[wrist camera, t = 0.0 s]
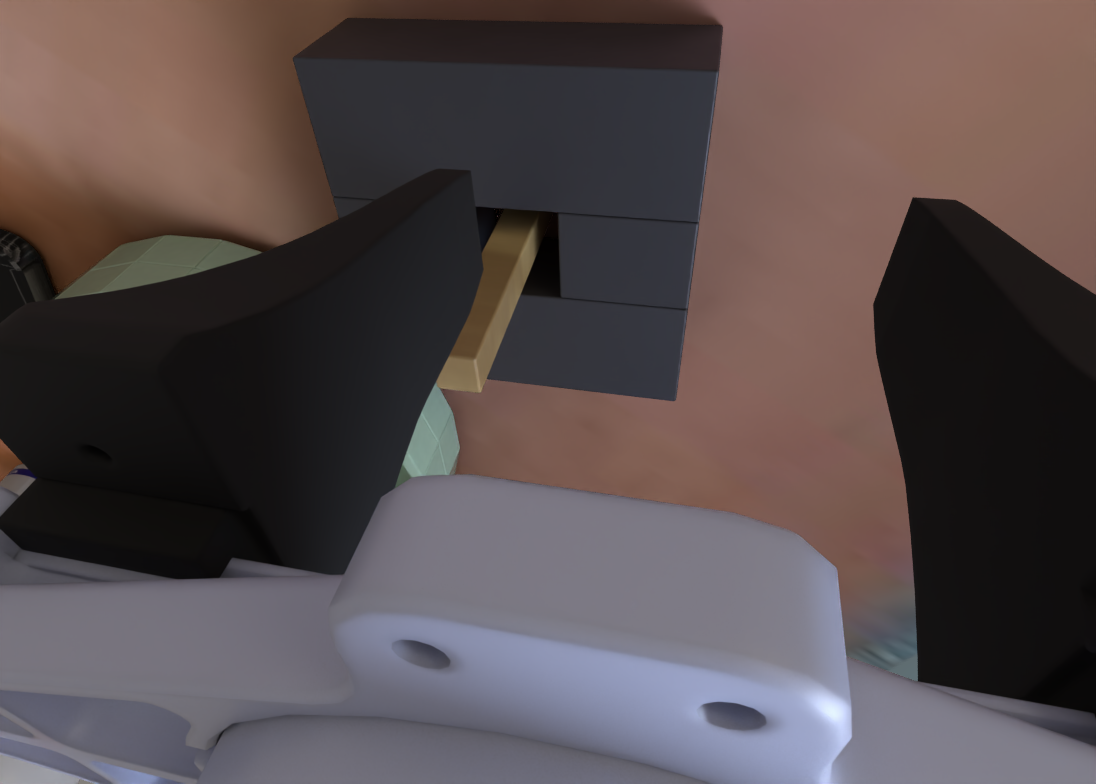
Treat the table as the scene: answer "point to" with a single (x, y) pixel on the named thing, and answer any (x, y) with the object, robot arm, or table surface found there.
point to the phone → (20, 275)
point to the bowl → (189, 255)
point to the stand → (542, 168)
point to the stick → (495, 297)
